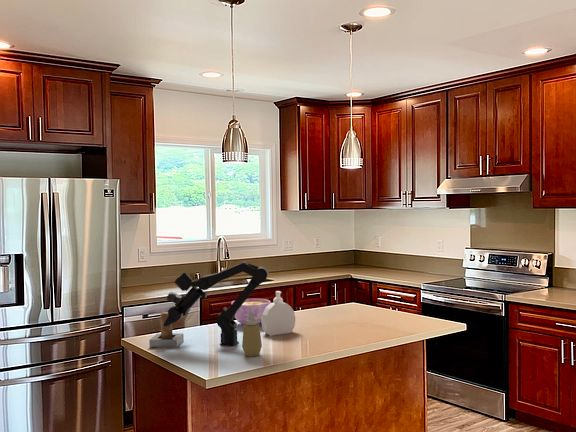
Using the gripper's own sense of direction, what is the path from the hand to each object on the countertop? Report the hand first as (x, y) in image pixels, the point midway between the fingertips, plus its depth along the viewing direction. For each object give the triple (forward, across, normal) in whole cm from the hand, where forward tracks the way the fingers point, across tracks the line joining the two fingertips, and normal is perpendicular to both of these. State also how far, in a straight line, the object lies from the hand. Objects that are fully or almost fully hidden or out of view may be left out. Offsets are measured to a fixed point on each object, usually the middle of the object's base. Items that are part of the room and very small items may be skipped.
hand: (166, 323), depth 260 cm
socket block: (+7, 0, +6) cm, 9 cm away
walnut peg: (+7, 0, +6) cm, 9 cm away
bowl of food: (-16, -41, +30) cm, 53 cm away
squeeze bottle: (-22, +18, +35) cm, 45 cm away
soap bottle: (-27, -20, +41) cm, 53 cm away
